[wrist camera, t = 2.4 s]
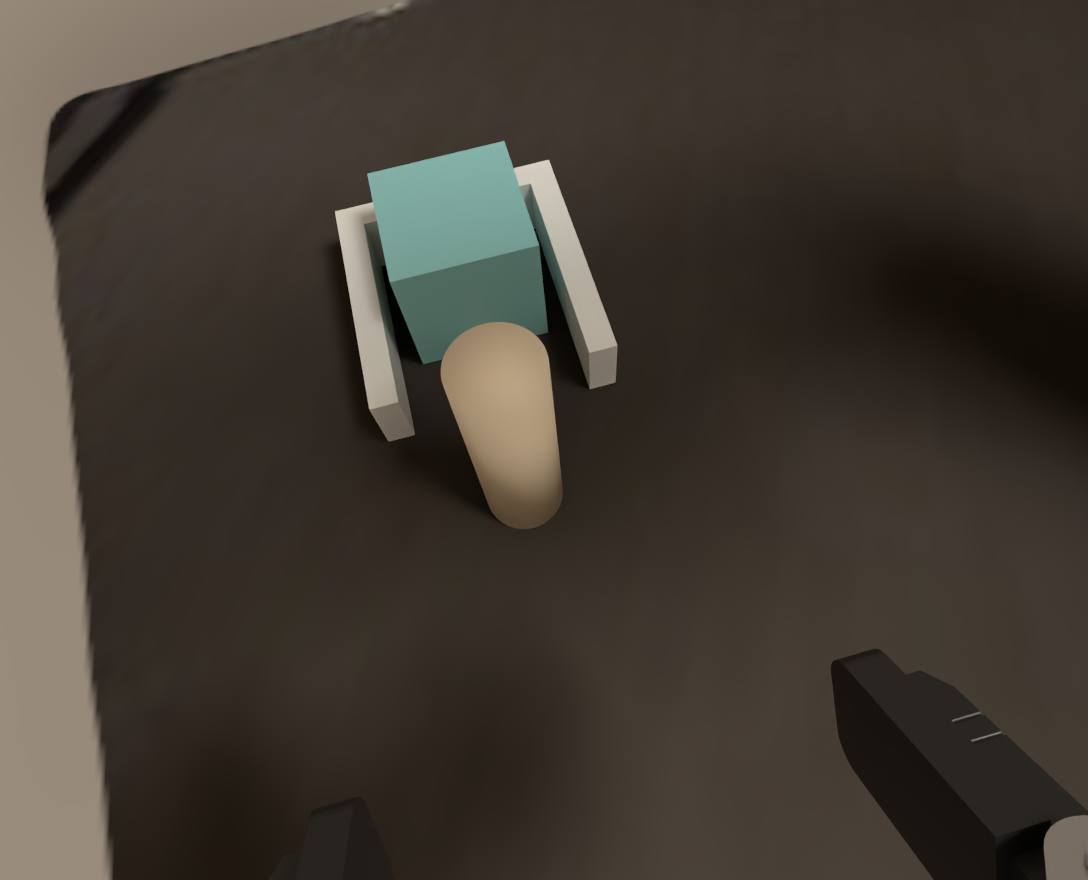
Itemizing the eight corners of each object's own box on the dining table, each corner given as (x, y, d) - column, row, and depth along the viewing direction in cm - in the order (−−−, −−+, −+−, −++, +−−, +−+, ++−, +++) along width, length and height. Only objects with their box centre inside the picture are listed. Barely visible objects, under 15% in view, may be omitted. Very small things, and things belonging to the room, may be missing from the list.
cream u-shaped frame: (552, 205, 37) (548, 159, 34) (615, 382, 32) (617, 345, 29) (354, 254, 36) (335, 211, 33) (388, 441, 31) (369, 409, 29)
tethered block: (517, 237, 36) (492, 54, 27) (604, 508, 29) (609, 387, 20) (401, 266, 35) (336, 91, 26) (462, 547, 29) (404, 440, 20)
